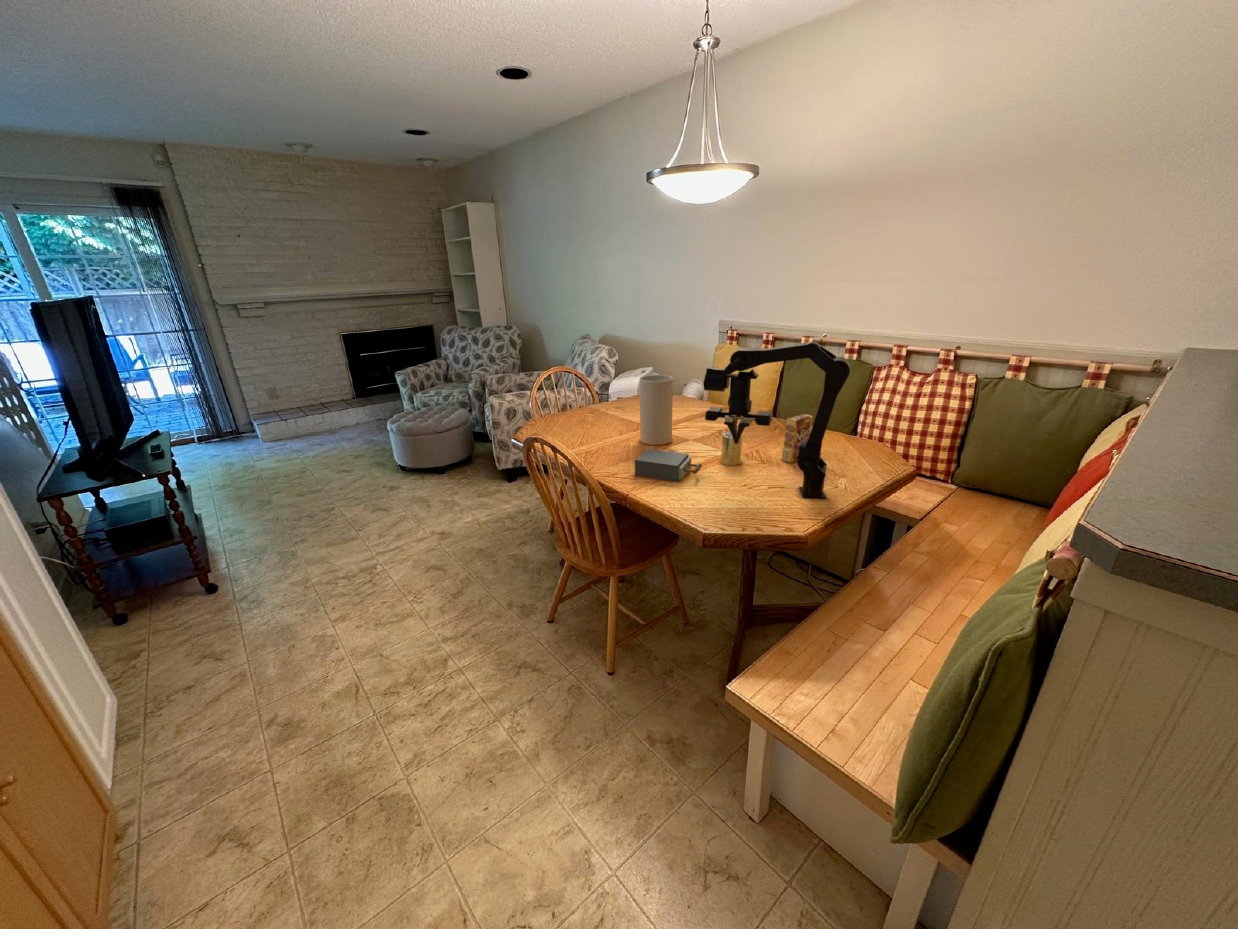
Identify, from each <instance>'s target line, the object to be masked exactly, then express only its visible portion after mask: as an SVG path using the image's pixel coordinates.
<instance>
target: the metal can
mask: <svg viewBox="0 0 1238 929" xmlns="http://www.w3.org/2000/svg"><path fill="white" fill-rule="evenodd" d="M721 436H722V438H721V455H720V456H721V457H720V462H721V464H722V465H726V466H739V465H741V462H742V448H743V434H742V435H741V438H740V440H739V442H738V444H735V443H734V440H733V437H732V434H731V432H730V431H725V432H723V433H722V435H721Z"/></svg>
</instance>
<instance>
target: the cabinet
mask: <svg viewBox="0 0 1238 929" xmlns="http://www.w3.org/2000/svg"><path fill="white" fill-rule="evenodd" d="M689 455H690V454H689V453H686V452H677V451H671V450H661V449H653V448H646V449H645V450H644V451H643V452H641V454H640V455H639V456H638V457H637V458H635V459H634V476H635V477H640V478H646V479H647V478H648V479H654V480H655V479H656V480H661V481H668V482H673V483H678V482H679V481H680V480H681V479H678V467H679V466H680V465H681V464H682V463H683V462H684V461H685V460H686V459H687V458H688V457H689Z"/></svg>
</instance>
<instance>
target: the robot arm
mask: <svg viewBox="0 0 1238 929" xmlns="http://www.w3.org/2000/svg"><path fill="white" fill-rule="evenodd" d="M803 359H809V360H811V362H813V363H814V364H815V365H816V366H817V367H818V368H819V369H821V371H823V372H824V373H825V374H824V382H823V392H822V396H821V398H820V401H819V403H818V404H819V405H818V408H817V411H816V413H815V417H814V421H813V422H812V426H811V432H810V436H809V438H808V439H807V441H804V440H801V443H800V447H799V451H798V453H797V456H796V459H798V460H797V461H796V464H797V467H798V468H799V469H800V470H801V471H802V474H803V479H802V486H799V487H798V490H799V493H800V495H801V498H805V499H827V495H826V494H825V492H824V486H825V480H826V475H827V468H828V467H827V466H828V463H826V462H825V460H823V458H822V457H821V455H822V447H823V441H824V438H825V434H826V430H827V428H828V425H829V422H830V419H831V417H832V416H831V415H832V412H833V410H834V406H835V403H836V401H837V398H838V396H839V394H840V393H841V390H842V388H844V385H845V383H846V381H847V380H848V378H849V376H850V373H851V363H850V361H849V360H848V359H847V358H846V357H844V356H837V355H835V354H834V353H833V352H831V351H829V350H828V349H826V348H825V347H823V346H822V345H820V343H819V342H818V341H813V340H812V341H809V342H804V343H799V344H792V345H784V346H776V347H771V348H770V347H769V348H760V347H759V348H758V347H741V348H738V349H737V350H736V351H734V352H733V353H731V356H730V358H729V363H728V365H726V366H725V367H724V368H716V367H710V366H708V367H706V370H705V374H704V380H703V384H702V385H703V390H704V391H707V392H719V393H720V392H721V393H724V392H725V391H726V389H727V390H728V389H729V396H728V400H727V406H728V411H723V410H724V409H723V407H714V406H710V407H709V409H707V410H706V411H705V414H704V420H705V421H709V422H716V421H717V420H718V419H719V418H720V419H724V422H723V426H724V425H726V426H727V428H728V430H729V432H731V434H732V437H733V440H734V443H735V444H738V442H739V440H740V438H741V435H742V436H743V433H744V430H745V429H746V428H748V427H750V425H751V424H752V423H753V421H754V422H755V424H756V425H757V426H762V427H763V426H764V427H769V426H770V425H771V423H772V422H773V413H772V412H771V411H763V410H758V411H757V413H750V412H751V411H752V404H753V400H751V384H752V380H756V379H758V378H759V376H760V375H759V374H758V373H757V372H756V371H755V369H754V368H756V367H759V366H761V365H765V364H772V363H773V364H774V363H779V362H788V361H795V360H803ZM750 369H751V370H750ZM746 370H750V371H746ZM735 372H738V373H735ZM738 420H740V421H739V423H738Z"/></svg>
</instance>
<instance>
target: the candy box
mask: <svg viewBox="0 0 1238 929" xmlns="http://www.w3.org/2000/svg"><path fill="white" fill-rule="evenodd" d="M813 418H814V417H813V415H810V414H807V413H806V414H805V413H801V414H798V415H794V416H790V417H786V425H785V431H784V440H783V446H782V455H781V460H783V461H784V462H787V463H790V464H791V463H793V462H797V461H798V459H796V456H797V453H798V451H799V447H800V443H801V440H804V441H807V439H808V438H809V436H810V433H811V430H812V426H813Z"/></svg>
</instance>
